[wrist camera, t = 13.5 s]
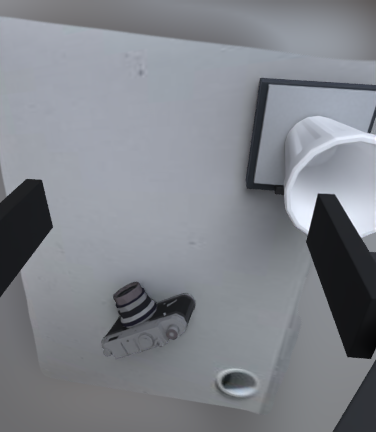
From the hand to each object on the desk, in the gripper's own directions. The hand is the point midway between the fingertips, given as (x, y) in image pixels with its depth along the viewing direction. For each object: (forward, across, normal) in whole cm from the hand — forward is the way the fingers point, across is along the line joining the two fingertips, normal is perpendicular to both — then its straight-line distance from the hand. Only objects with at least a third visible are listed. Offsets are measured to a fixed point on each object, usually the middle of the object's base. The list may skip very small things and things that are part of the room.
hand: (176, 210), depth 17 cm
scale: (+28, +13, -5) cm, 31 cm away
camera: (+28, -8, -34) cm, 45 cm away
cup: (+25, +13, -5) cm, 29 cm away
